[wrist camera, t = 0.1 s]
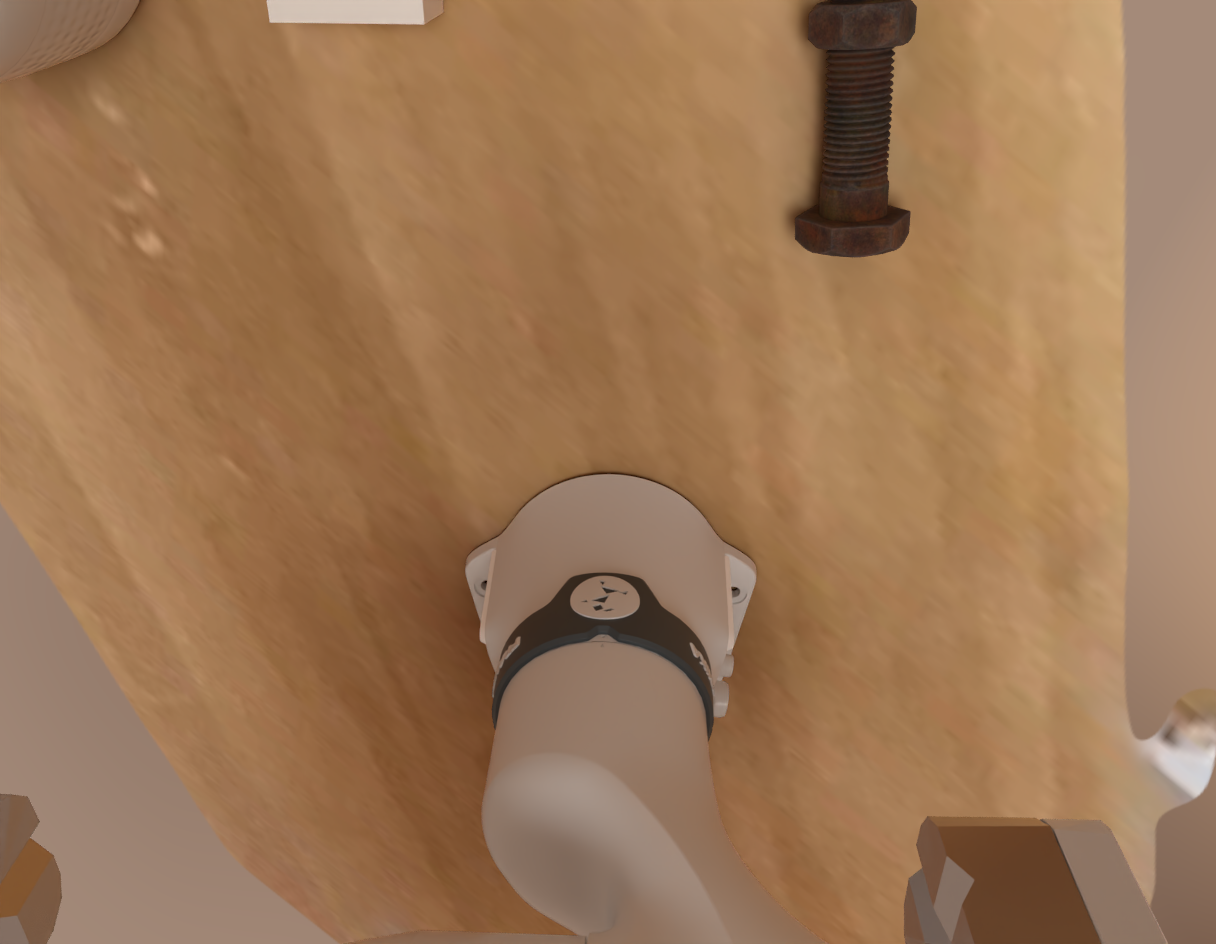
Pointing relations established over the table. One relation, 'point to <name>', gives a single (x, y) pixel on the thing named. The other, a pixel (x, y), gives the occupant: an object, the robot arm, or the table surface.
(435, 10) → the white socket block
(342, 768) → the table surface
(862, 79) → the bolt
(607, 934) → the robot arm
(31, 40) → the lamp
